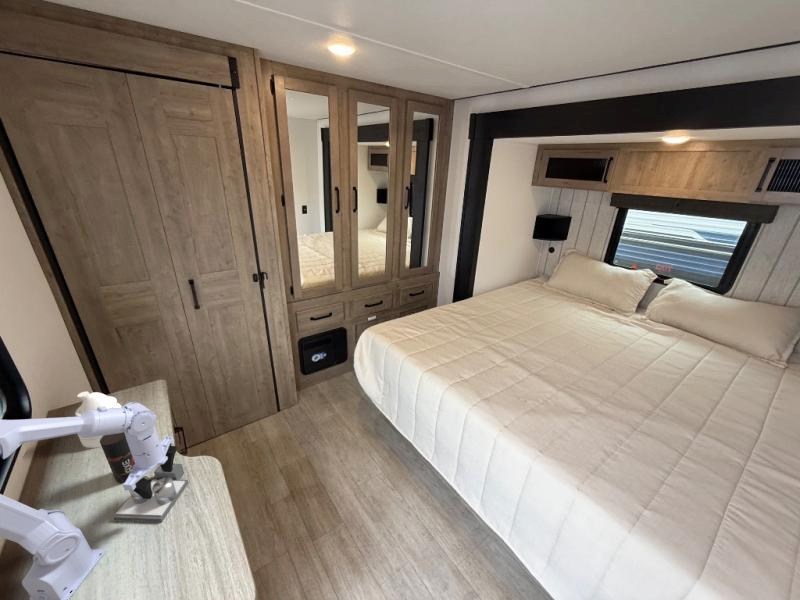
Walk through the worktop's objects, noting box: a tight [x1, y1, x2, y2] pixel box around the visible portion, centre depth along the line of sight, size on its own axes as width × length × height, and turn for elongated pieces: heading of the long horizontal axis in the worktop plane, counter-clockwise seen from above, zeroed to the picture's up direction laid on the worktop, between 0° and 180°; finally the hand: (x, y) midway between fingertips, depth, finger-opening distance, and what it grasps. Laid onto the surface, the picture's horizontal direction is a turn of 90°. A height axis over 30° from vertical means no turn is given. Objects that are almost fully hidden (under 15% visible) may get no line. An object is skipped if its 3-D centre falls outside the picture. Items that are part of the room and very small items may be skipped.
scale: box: [112, 462, 189, 523], centre depth 86 cm, size 14×12×4 cm
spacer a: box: [128, 475, 153, 504], centre depth 84 cm, size 4×4×5 cm
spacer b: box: [152, 477, 177, 505], centre depth 84 cm, size 4×4×5 cm
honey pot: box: [74, 391, 122, 449], centre depth 102 cm, size 13×13×18 cm
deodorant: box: [100, 432, 135, 484], centre depth 89 cm, size 6×6×15 cm
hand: (158, 483), depth 83 cm, fingers open, 7 cm apart
